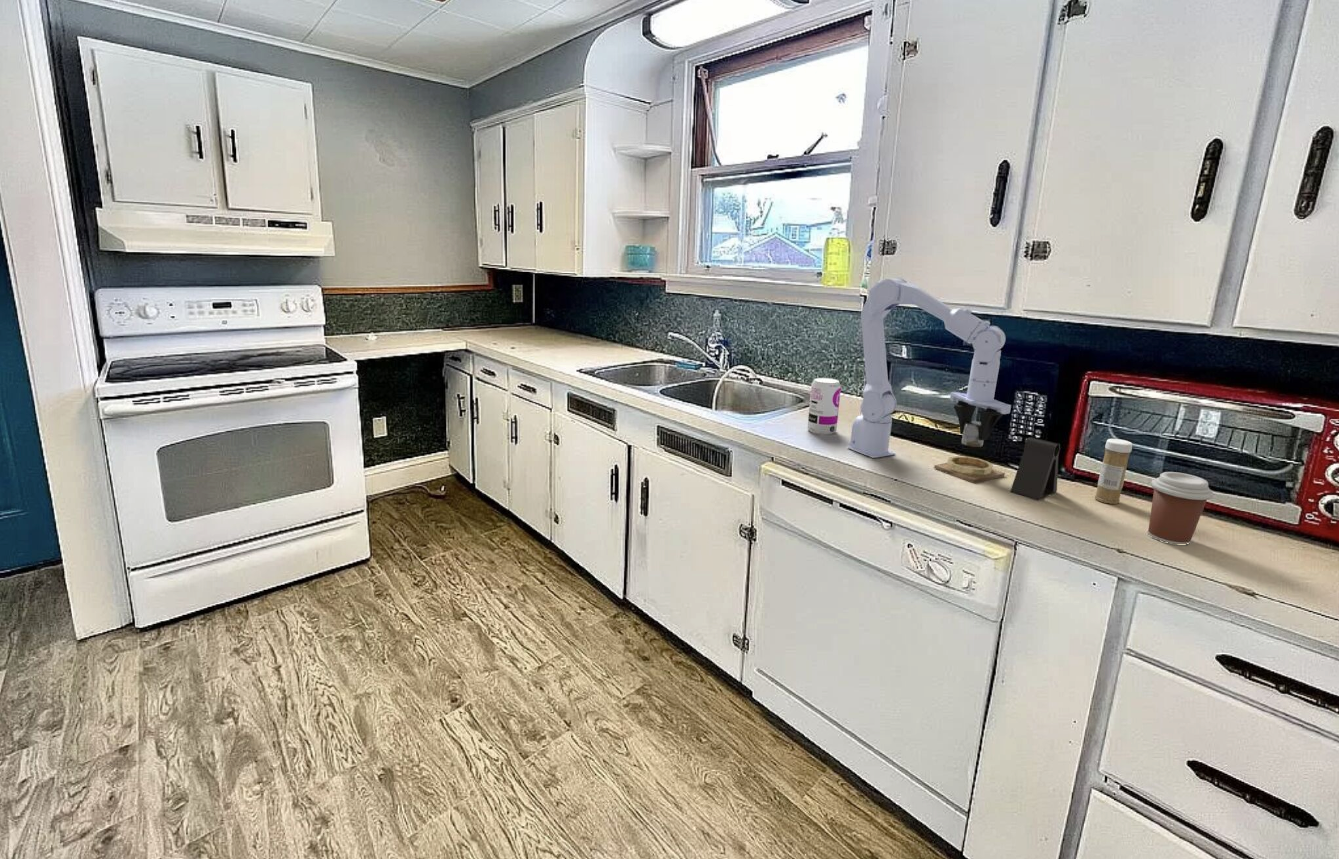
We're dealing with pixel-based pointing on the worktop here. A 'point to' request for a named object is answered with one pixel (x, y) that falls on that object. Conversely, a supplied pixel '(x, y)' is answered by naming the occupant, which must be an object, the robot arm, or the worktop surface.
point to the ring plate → (969, 478)
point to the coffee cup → (1177, 506)
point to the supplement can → (824, 406)
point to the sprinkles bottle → (1113, 470)
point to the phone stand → (1037, 469)
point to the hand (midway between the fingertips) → (973, 436)
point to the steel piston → (972, 434)
